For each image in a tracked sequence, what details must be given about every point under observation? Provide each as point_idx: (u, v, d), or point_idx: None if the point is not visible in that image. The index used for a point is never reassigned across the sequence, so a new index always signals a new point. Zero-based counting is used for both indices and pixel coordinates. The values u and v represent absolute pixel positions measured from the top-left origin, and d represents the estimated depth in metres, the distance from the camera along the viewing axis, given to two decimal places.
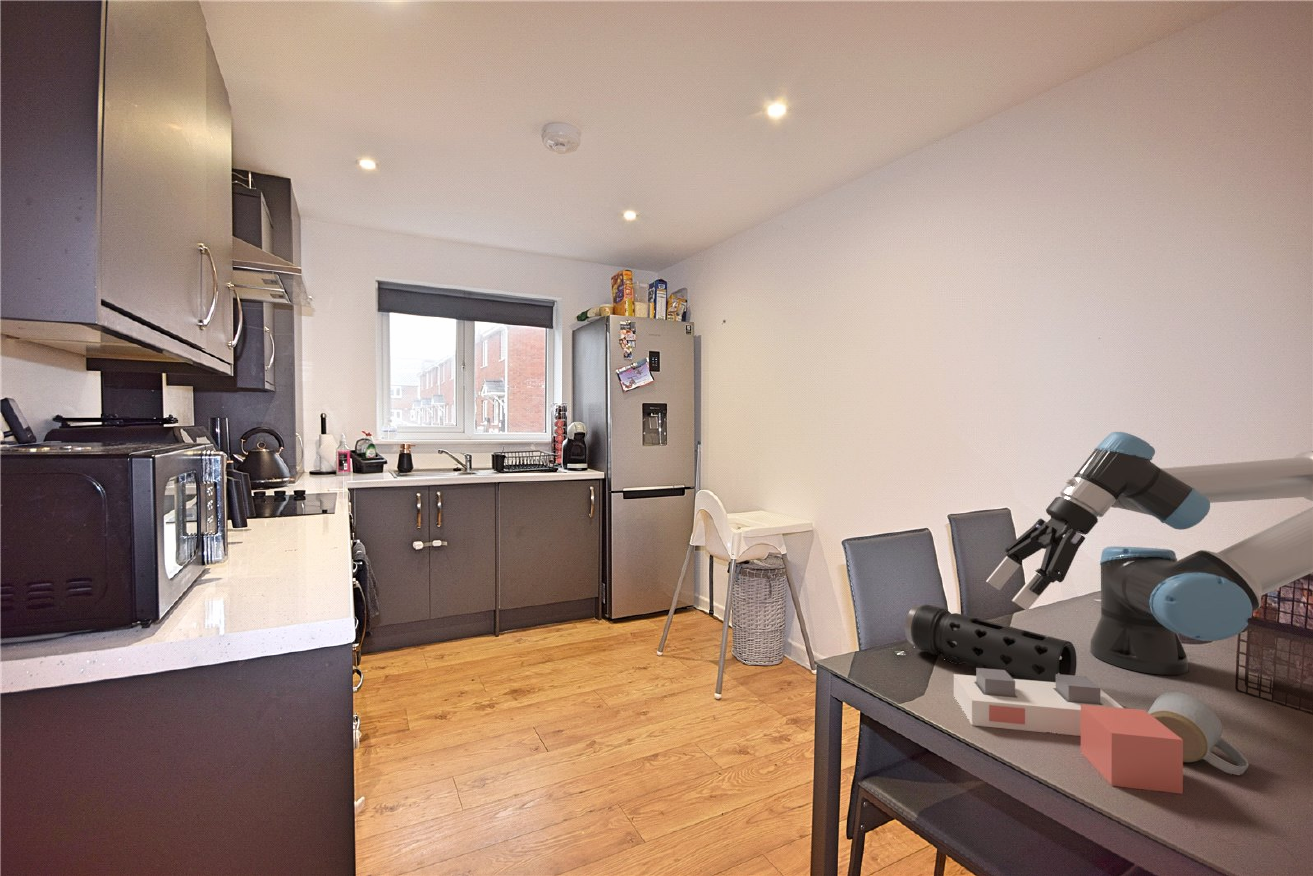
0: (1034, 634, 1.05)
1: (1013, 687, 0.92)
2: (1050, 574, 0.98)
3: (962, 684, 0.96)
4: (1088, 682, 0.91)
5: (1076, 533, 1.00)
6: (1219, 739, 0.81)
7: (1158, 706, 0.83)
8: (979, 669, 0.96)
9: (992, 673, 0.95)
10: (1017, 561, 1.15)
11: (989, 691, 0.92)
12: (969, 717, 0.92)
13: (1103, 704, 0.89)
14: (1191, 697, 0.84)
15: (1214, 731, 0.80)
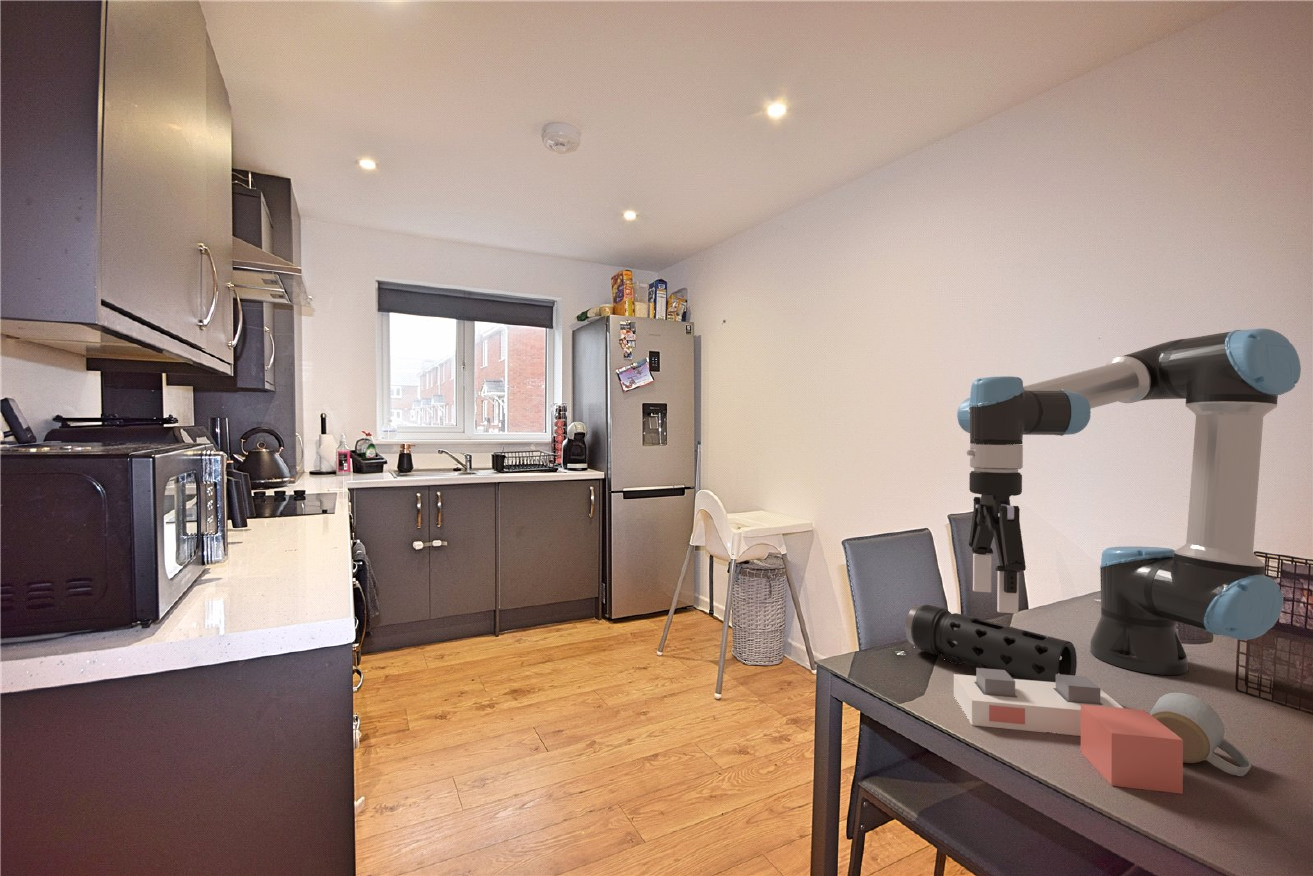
0: (1034, 634, 1.05)
1: (1013, 687, 0.92)
2: (1009, 568, 0.86)
3: (962, 684, 0.96)
4: (1088, 682, 0.91)
5: (1007, 508, 0.88)
6: (1221, 740, 0.81)
7: (1160, 707, 0.83)
8: (979, 669, 0.96)
9: (992, 673, 0.95)
10: (986, 552, 1.00)
11: (989, 691, 0.92)
12: (969, 717, 0.92)
13: (1103, 704, 0.89)
14: (1193, 698, 0.83)
15: (1216, 732, 0.80)
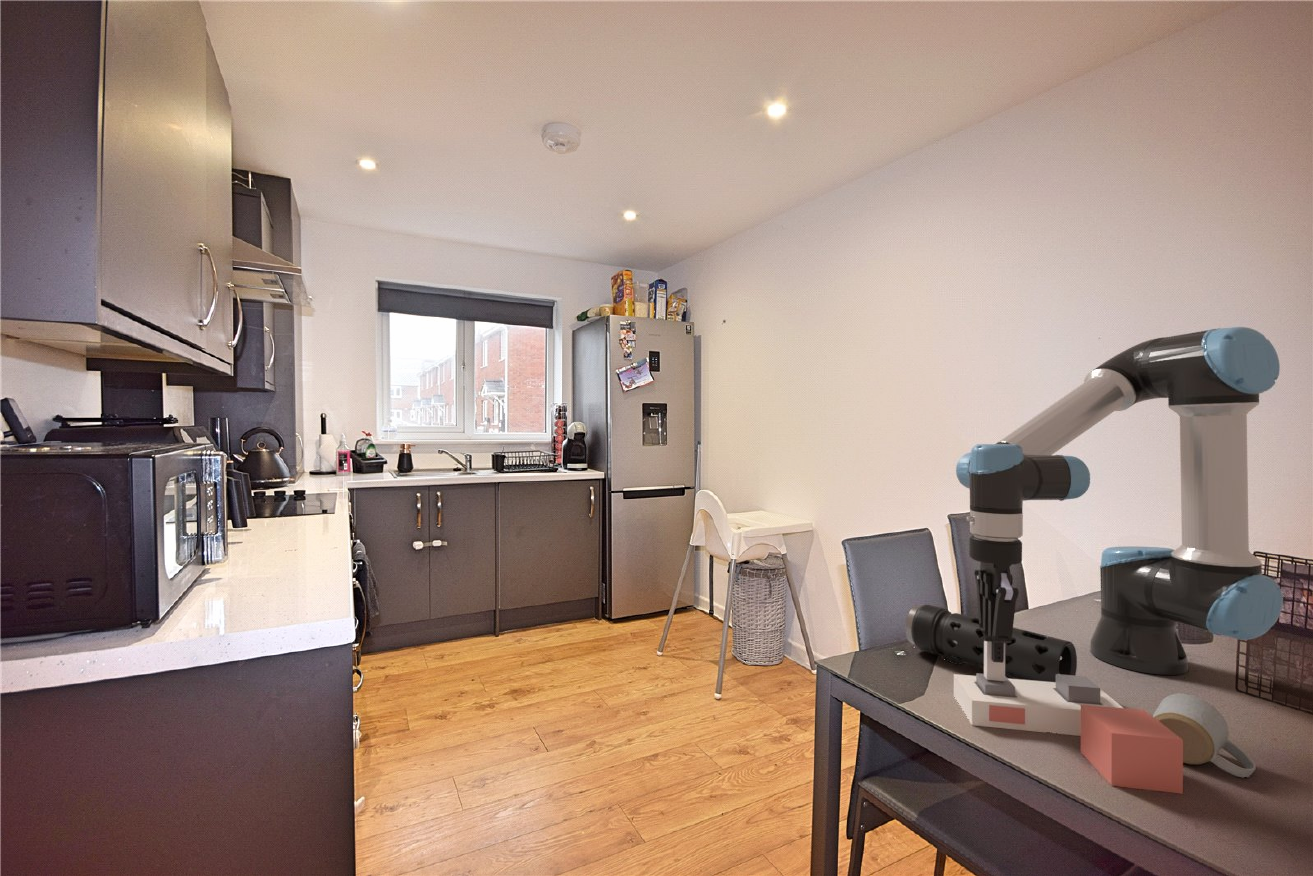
0: (1035, 634, 1.05)
1: (1013, 693, 0.92)
2: (996, 640, 0.91)
3: (962, 684, 0.96)
4: (1088, 682, 0.91)
5: (1006, 593, 0.88)
6: (1226, 741, 0.81)
7: (1164, 708, 0.82)
8: (979, 674, 0.96)
9: None
10: None
11: None
12: (969, 717, 0.92)
13: (1103, 704, 0.89)
14: (1197, 699, 0.83)
15: (1221, 733, 0.79)
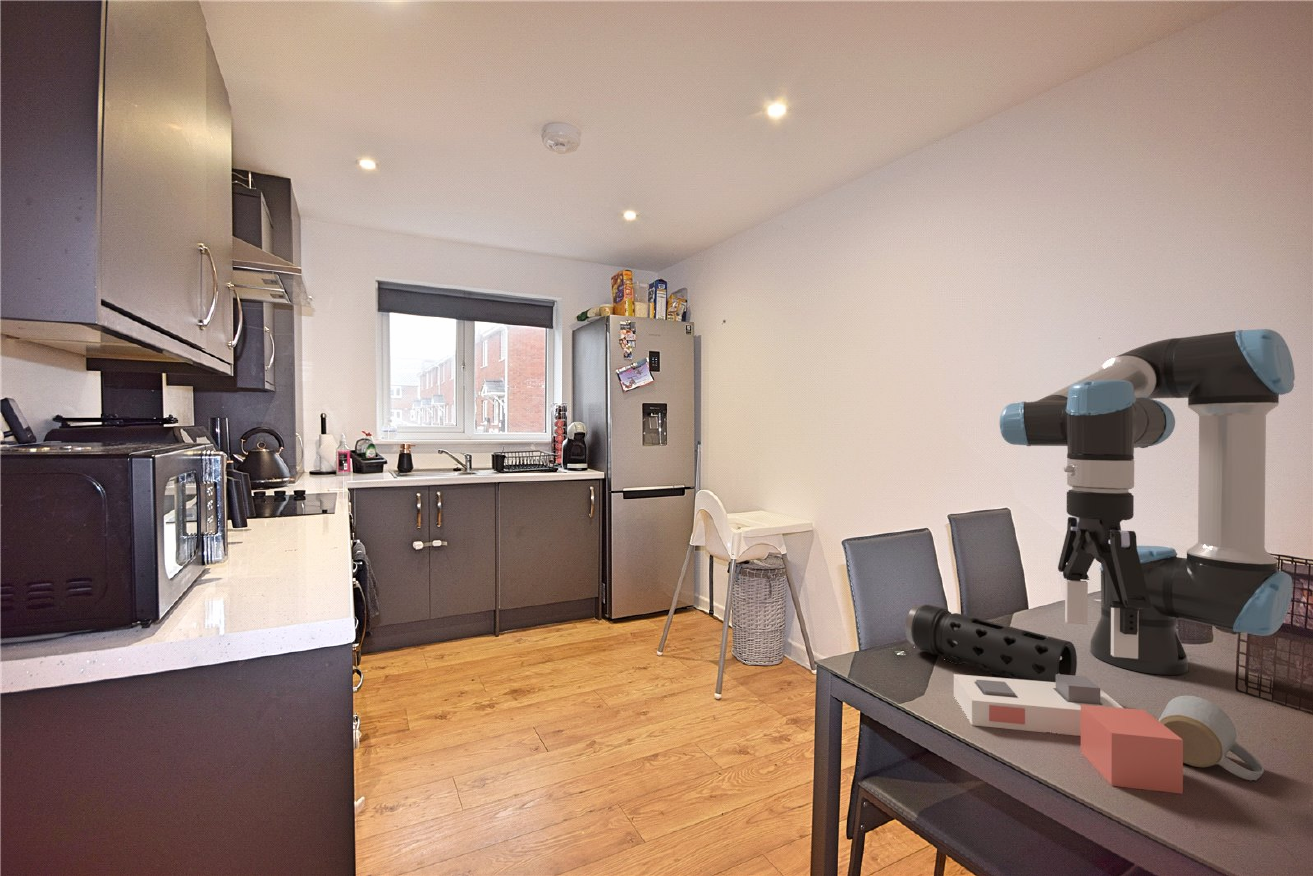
0: (1034, 634, 1.05)
1: None
2: (1130, 606, 0.71)
3: (962, 684, 0.96)
4: (1088, 682, 0.91)
5: (1121, 533, 0.74)
6: (1233, 744, 0.80)
7: (1171, 710, 0.82)
8: (979, 681, 0.96)
9: (992, 685, 0.95)
10: (1081, 578, 0.87)
11: None
12: (969, 717, 0.92)
13: (1103, 704, 0.89)
14: (1204, 701, 0.82)
15: (1229, 736, 0.79)
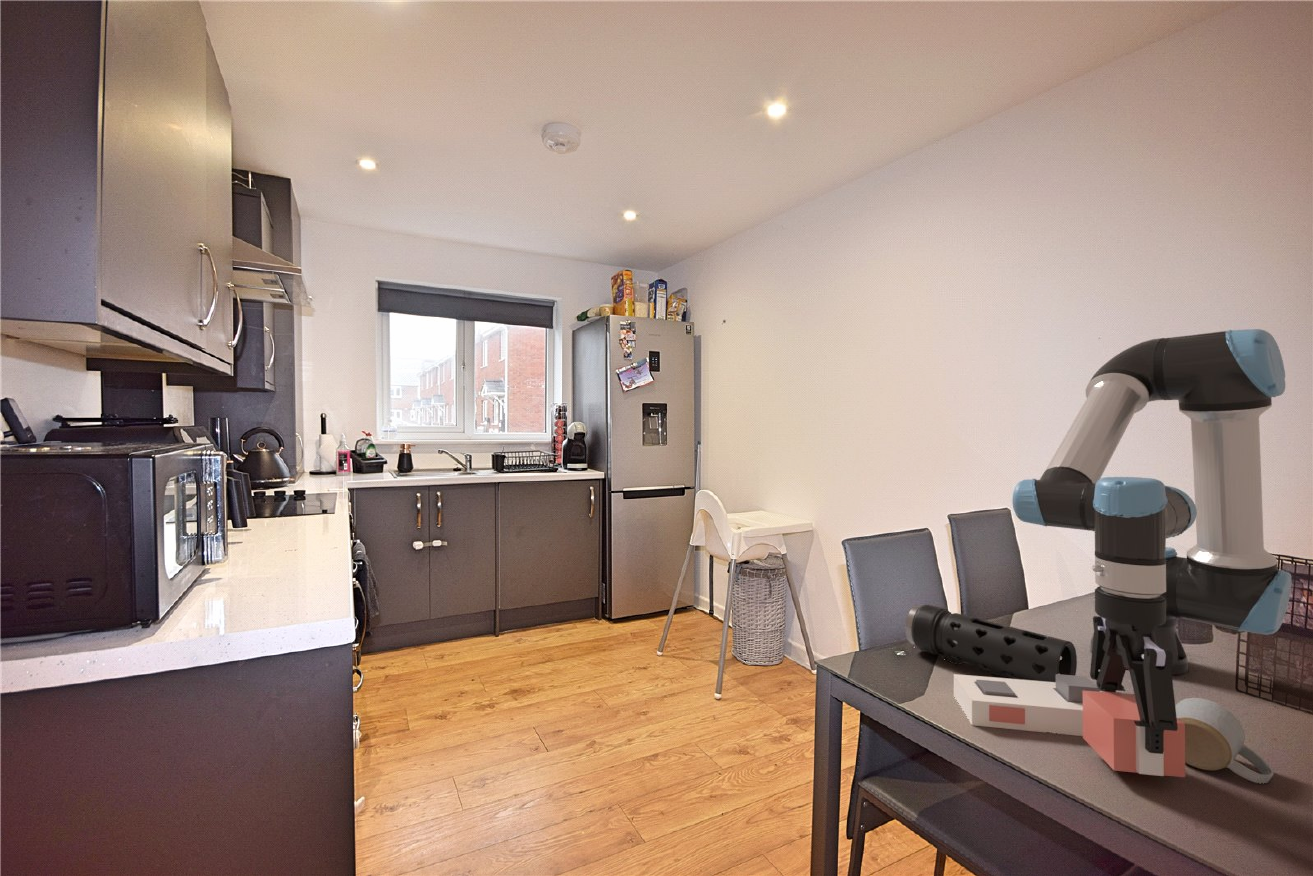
0: (1034, 634, 1.05)
1: None
2: (1157, 728, 0.71)
3: (962, 684, 0.96)
4: (1088, 682, 0.91)
5: (1157, 654, 0.71)
6: (1242, 746, 0.79)
7: (1179, 713, 0.81)
8: (979, 681, 0.96)
9: (992, 685, 0.95)
10: (1117, 688, 0.83)
11: None
12: (969, 717, 0.92)
13: None
14: (1213, 703, 0.82)
15: (1237, 738, 0.78)
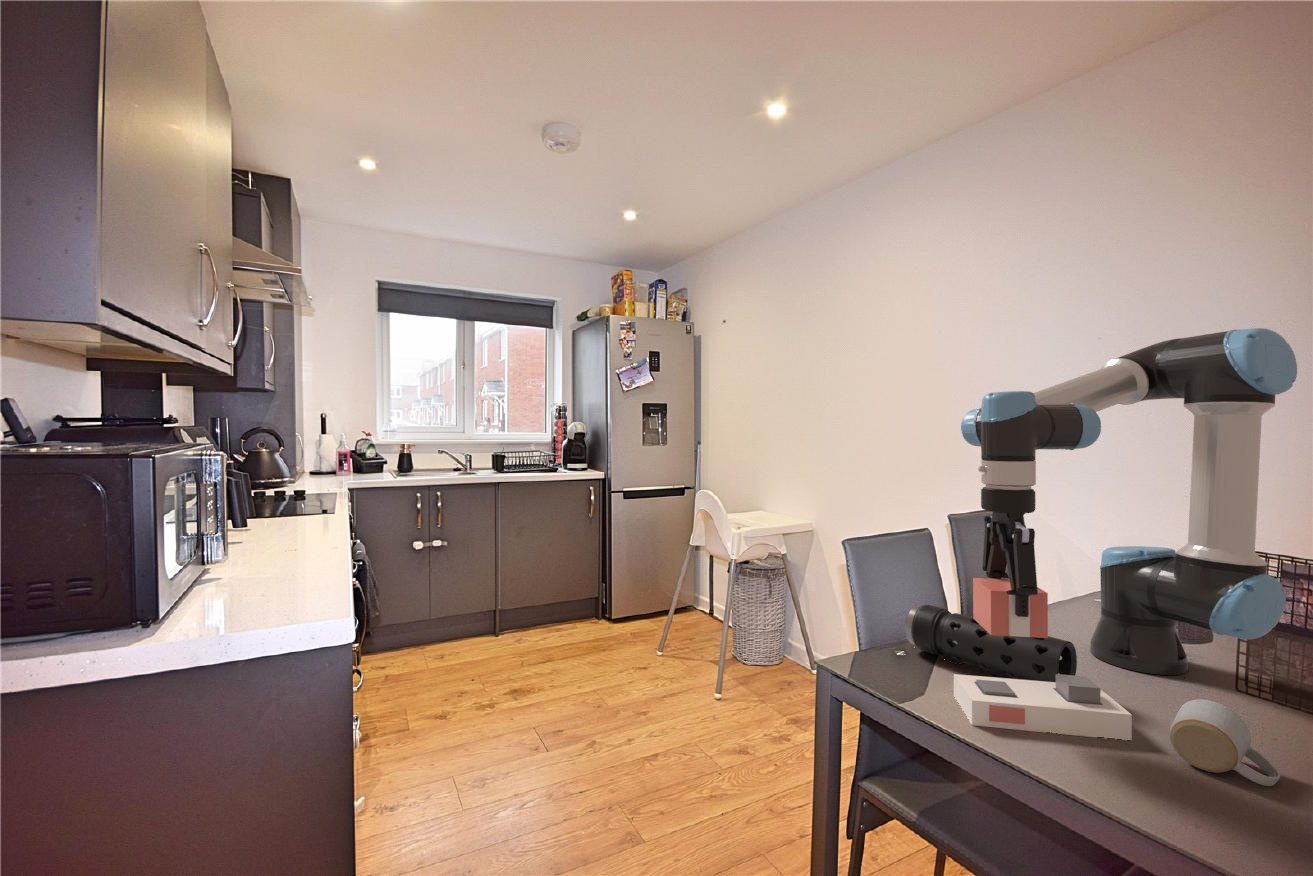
0: None
1: None
2: (1021, 593, 0.85)
3: (962, 684, 0.96)
4: (1088, 682, 0.91)
5: (1022, 532, 0.86)
6: (1248, 748, 0.79)
7: (1185, 714, 0.80)
8: (979, 681, 0.96)
9: (992, 685, 0.95)
10: (1002, 576, 0.97)
11: None
12: (969, 717, 0.92)
13: (1103, 704, 0.89)
14: (1218, 705, 0.81)
15: (1244, 740, 0.77)
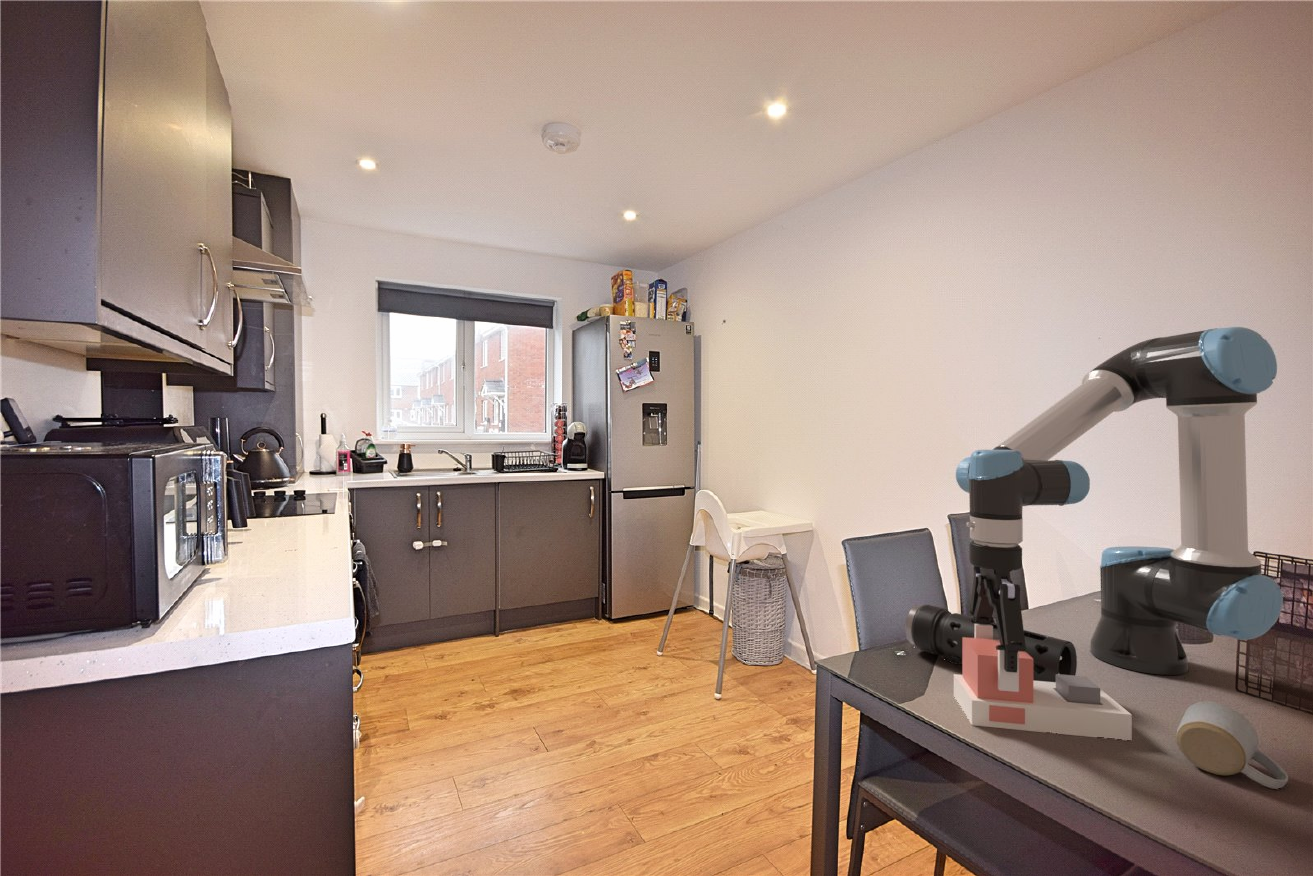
0: (1034, 634, 1.05)
1: None
2: (1010, 649, 0.86)
3: (962, 684, 0.96)
4: (1088, 682, 0.91)
5: (1008, 587, 0.88)
6: (1256, 751, 0.78)
7: (1192, 716, 0.80)
8: None
9: None
10: (988, 621, 1.00)
11: None
12: (969, 717, 0.92)
13: (1103, 704, 0.89)
14: (1225, 707, 0.81)
15: (1251, 743, 0.77)
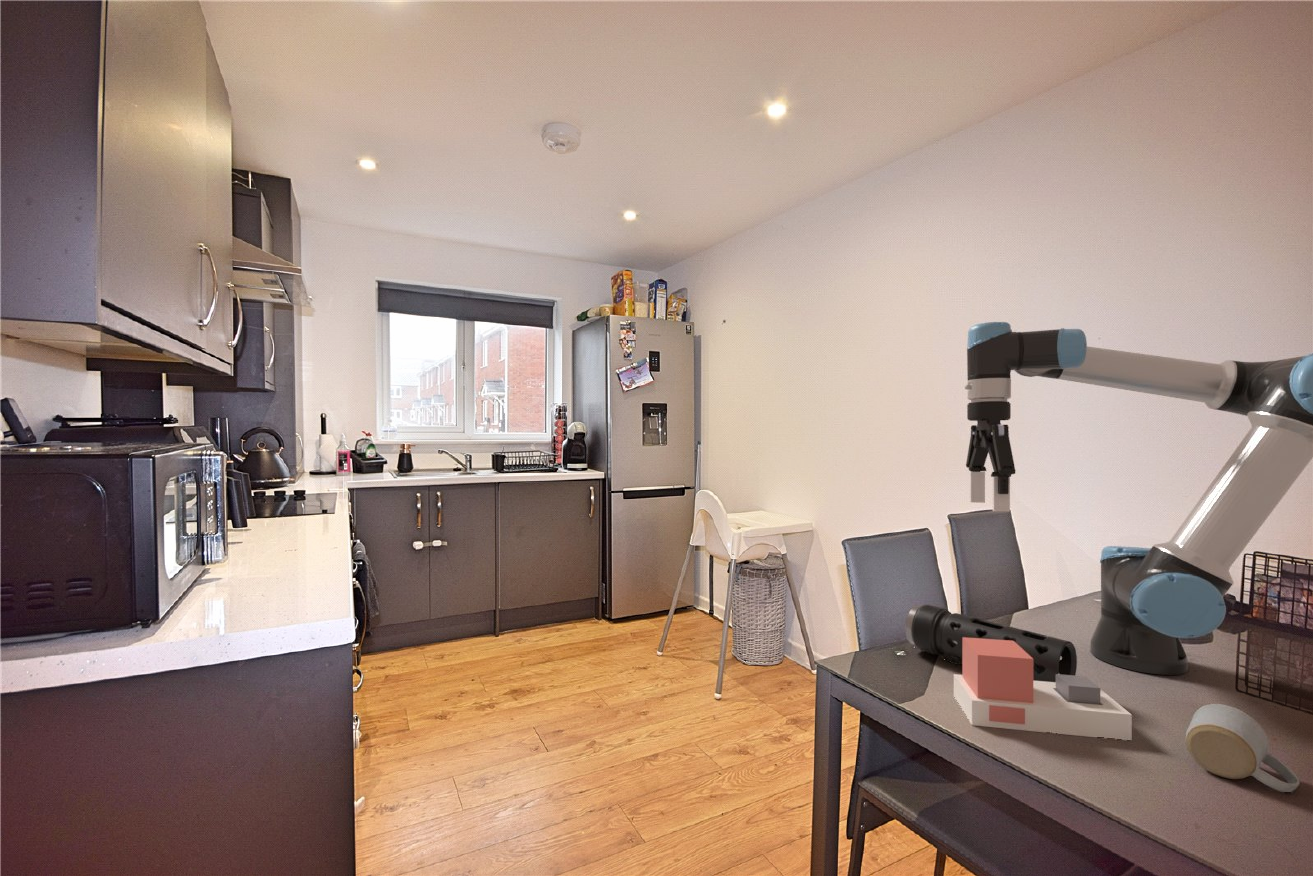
0: (1034, 634, 1.05)
1: None
2: (1002, 472, 1.04)
3: (962, 684, 0.96)
4: (1088, 682, 0.91)
5: (998, 426, 1.07)
6: (1266, 754, 0.77)
7: (1201, 719, 0.79)
8: None
9: None
10: (981, 469, 1.21)
11: None
12: (969, 717, 0.92)
13: (1103, 704, 0.89)
14: (1235, 710, 0.80)
15: (1262, 746, 0.76)
